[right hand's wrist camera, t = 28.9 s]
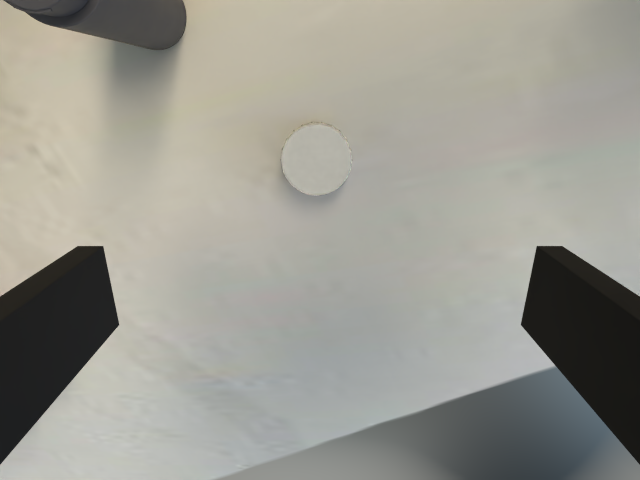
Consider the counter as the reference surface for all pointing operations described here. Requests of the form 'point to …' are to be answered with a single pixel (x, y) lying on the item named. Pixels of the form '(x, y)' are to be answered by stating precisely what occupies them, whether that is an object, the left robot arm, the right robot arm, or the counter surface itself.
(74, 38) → the counter surface
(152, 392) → the counter surface
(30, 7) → the dark grey tall cylinder
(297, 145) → the lid
